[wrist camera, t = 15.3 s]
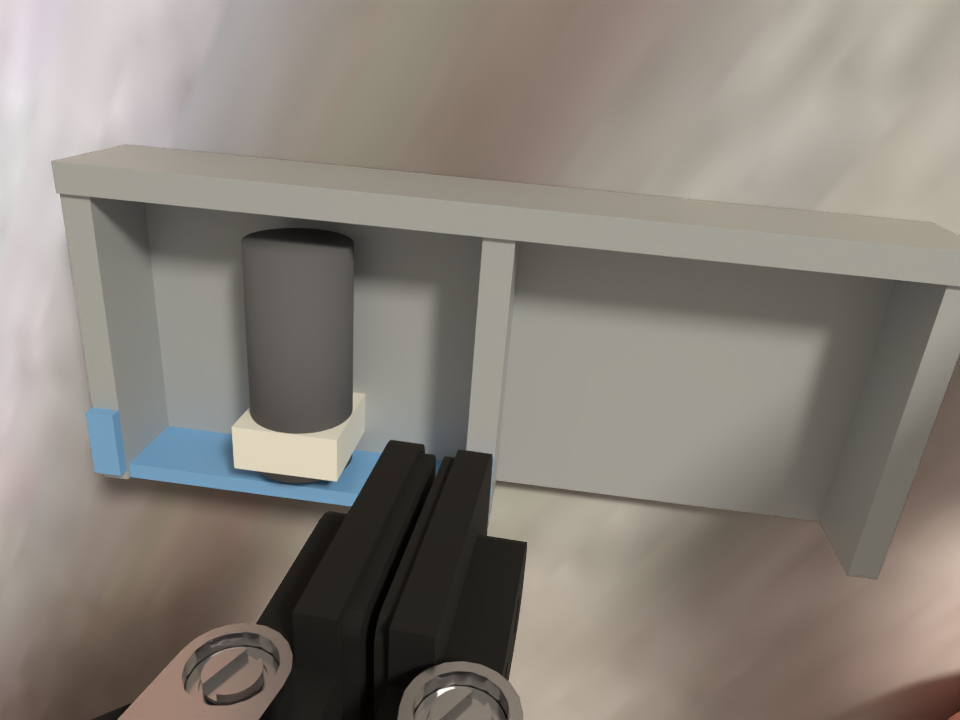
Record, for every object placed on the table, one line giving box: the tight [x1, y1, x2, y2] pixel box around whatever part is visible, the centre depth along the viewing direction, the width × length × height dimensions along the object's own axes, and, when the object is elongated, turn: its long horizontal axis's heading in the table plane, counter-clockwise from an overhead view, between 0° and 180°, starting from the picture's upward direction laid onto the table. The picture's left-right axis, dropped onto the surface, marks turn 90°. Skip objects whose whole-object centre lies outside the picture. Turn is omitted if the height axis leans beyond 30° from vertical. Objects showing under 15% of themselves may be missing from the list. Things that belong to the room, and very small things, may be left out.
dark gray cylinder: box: [232, 228, 365, 483], centre depth 32 cm, size 10×4×4 cm, turn 176°
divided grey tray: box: [51, 145, 960, 579], centre depth 31 cm, size 34×14×5 cm, turn 86°
